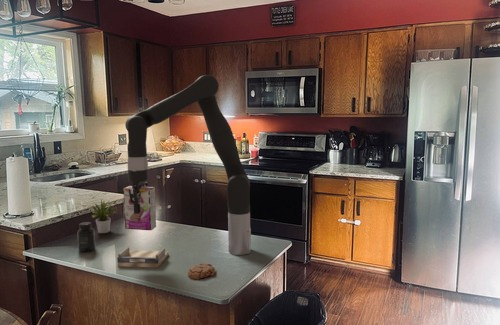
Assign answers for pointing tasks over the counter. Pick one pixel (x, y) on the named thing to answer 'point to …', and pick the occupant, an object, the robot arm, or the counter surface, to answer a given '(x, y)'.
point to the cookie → (201, 271)
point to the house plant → (103, 217)
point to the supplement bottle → (86, 237)
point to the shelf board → (141, 258)
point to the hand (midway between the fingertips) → (140, 211)
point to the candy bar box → (147, 210)
